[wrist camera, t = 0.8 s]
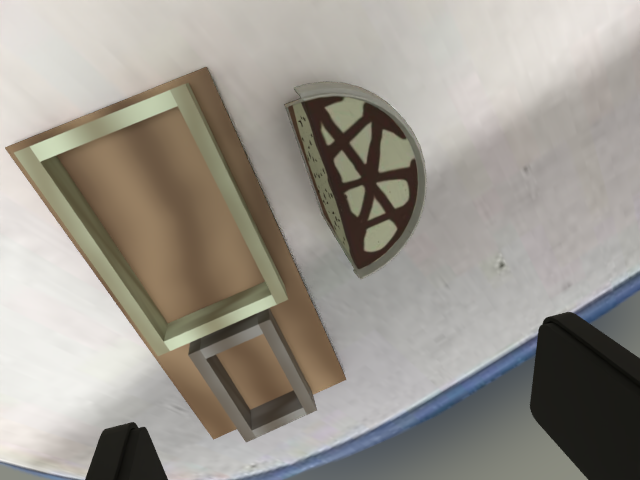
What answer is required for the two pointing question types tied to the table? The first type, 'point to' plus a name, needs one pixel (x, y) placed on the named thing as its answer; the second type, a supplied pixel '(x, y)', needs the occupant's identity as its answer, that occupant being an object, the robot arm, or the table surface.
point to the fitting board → (188, 252)
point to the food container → (360, 169)
